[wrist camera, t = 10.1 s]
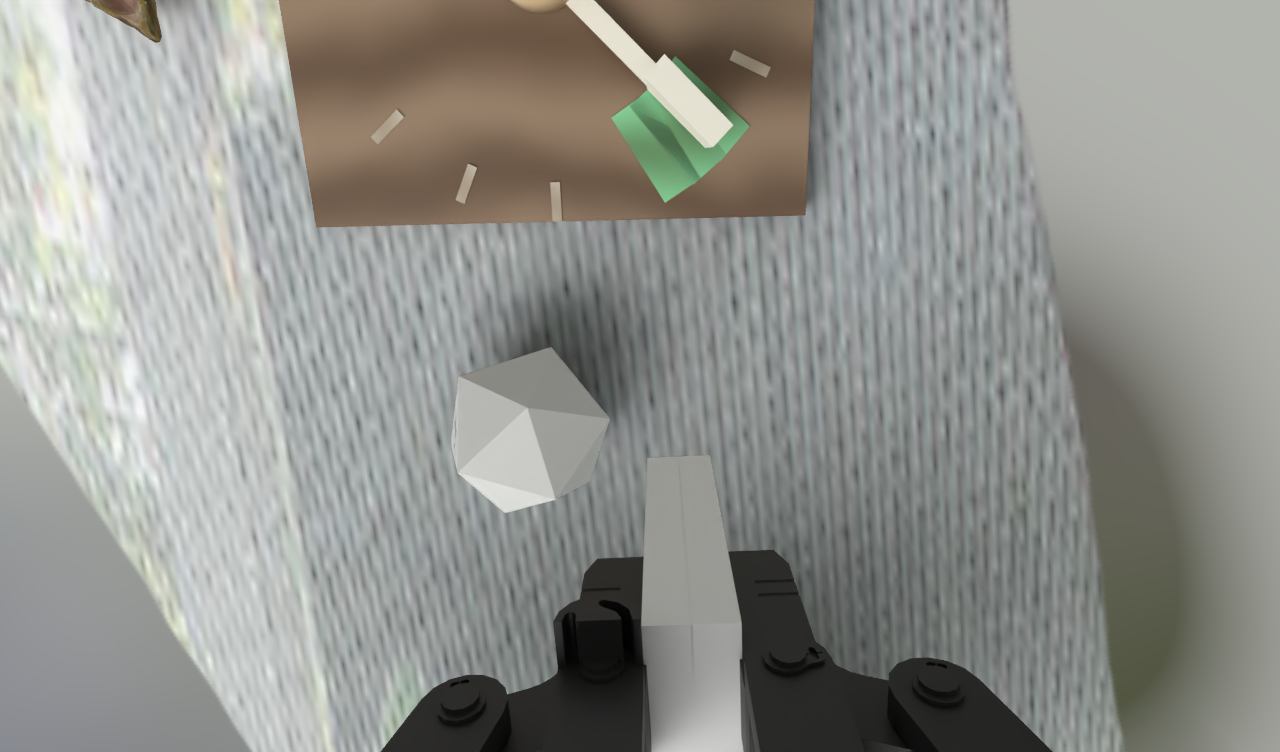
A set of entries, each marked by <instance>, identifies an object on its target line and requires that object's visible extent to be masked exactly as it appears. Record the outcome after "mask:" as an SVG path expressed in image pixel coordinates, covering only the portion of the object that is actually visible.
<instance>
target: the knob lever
mask: <svg viewBox="0 0 1280 752" xmlns="http://www.w3.org/2000/svg"><path fill="white" fill-rule="evenodd" d="M510 1H512V2H513V3H514V4H515V5H516V6H518V7H519V8H521V9H523V10H525V11H527V12H530V13H535V14H550V13H554V12H557V11H559V10H561V9H563V8H565V7H566V6H568V7H569V8H570V9H571V10H572V11H573V12H574V13H575V14H576V15H577V16H578V17H579V18H580V19H581V20H582V21H583V22H584V23H585V24H586V25H587V26H588V27H589V28H590V29H591V30H592V31H593V32H594V33H595V34H596V35H597V36H598V37H599V38H600V39H601V40H602V41H603V42H604V43H605V44H606V45H607V46H608V47H609V48H610V49H611V50H612V51H613V52H614V53H615V54H616V55H617V56H618V57H619V58H620V59H621V60H622V61H623V62H624V63H625V64H626V66H627V67H628V68H629V69H630V70H631V71H632V72H633V73H634V74H635V75H636V76H637V77H638V78H639V79H640V80H641V81H642V82H643V83H644V84H645V85H646V86H647V90H648V91H649V92H650V93H651V94H652V95H653V96H654V97H655V98H656V99H657V100H658V101H659V102H660V103H661V104H662V105H663V106H664V107H665V108H666V109H667V110H668V111H669V112H670V113H671V114H672V115H673V116H674V117H675V118H676V119H677V120H678V121H679V122H680V123H681V124H682V125H683V126H684V127H685V128H686V129H687V130H688V131H689V132H690V133H691V134H692V135H693V136H694V137H695V138H696V139H697V140H698V141H699V142H700V143H701V145H702V146H703V147H704V148H710V147H714V146H715V145H716V143H717V142H718V141H719V140H720V139H721V138H722V137H723V136H724V135H725V134H726V133H727V132H728V130H729V129H730V128H731V127H732V126H733V124H732V123H731V122H730V121H729V120H728V119H727V118H726V117H725V116H724V115H723V114H722V113H721V112H720V111H719V110H718V109H717V108H716V107H715V106H714V105H713V103H712V102H711V101H710V100H709V99H708V98H707V97H706V96H705V95H704V94H703V93H702V92H701V91H700V90H699V89H698V88H697V87H696V86H695V85H694V84H693V83H692V82H691V81H690V80H689V79H688V78H687V77H686V76H685V75H684V74H683V72H682V71H681V70H680V69H679V68H678V67H677V66H676V65H675V64H674V63H673V62H672V61H671V60H670V59H669V58H668V57H667V56H666V55H665V54H664V55H663V56H662V57H661V58H660V59H659V61H658V62H657V63H655V62H654V61H653V60H652V59H651V58H650V57H649V56H648V55H647V54H646V53H645V52H644V51H643V50H642V49H641V48H640V47H639V46H638V45H637V44H636V43H635V42H634V41H633V40H632V39H631V37H630V36H629V35H628V34H627V33H626V32H625V31H624V30H623V29H622V28H621V27H620V26H619V25H618V24H617V23H616V22H615V21H614V20H613V19H612V18H611V17H610V16H609V15H608V14H607V13H606V12H605V11H604V10H603V9H602V8H601V7H600V6H599V5H598V4H597V3H596V2H595V1H594V0H510Z"/></svg>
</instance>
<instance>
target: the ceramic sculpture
mask: <svg viewBox="0 0 1280 752" xmlns="http://www.w3.org/2000/svg"><path fill="white" fill-rule="evenodd" d="M86 1H88V2H90V3H92V4H93V5H94V6H95V7H97V8H99V9H101V10H102V11H104V12H106V13H107V14H109V15H111V16H112V17H115V18H117V19H119V20H120V21H122V22H123V23H125V24H127V25H129V26H131V27H134V28H135V29H136V30H138V31H139V32H140V33H141V34H143V35H144V36H146V37H147V38H149V39H150V40H152V41H154V42H155V43H157V42H160V40H161V37H162V35H161V30H160V25H159V21H158V17H157V10H156V2H155V0H86Z"/></svg>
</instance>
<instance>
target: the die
mask: <svg viewBox="0 0 1280 752" xmlns="http://www.w3.org/2000/svg"><path fill="white" fill-rule="evenodd" d="M609 421H610V418H609V417H608V416H607V415H606V413H605V412H604V411H603V410H602V408H601V407H600V406H599V405H598V404H597V402H596V401H595V400H594V399H593V397H592V396H591V395H590V394H589V393H588V391H587V390H586V389H585V388H584V386H583V385H582V384H581V383H580V382H579V380H578V379H577V378H576V377H575V375H574V374H573V373H572V372H571V371H570V369H569V368H568V367H567V366H566V364H565V363H564V362H563V361H562V360H561V358H560V357H559V356H558V355H557V353H556V352H555V351H554V350H553V349H552V347H549V348H546V349H543V350H540V351H537V352H534V353H531V354H527V355H524V356H521V357H518V358H515V359H512V360H508V361H505V362H502V363H499V364H496V365H493V366H489V367H486V368H483V369H480V370H477V371H474V372H471V373H467V374H464V375H461V376H459V380H458V388H457V396H456V404H455V413H454V421H453V429H452V438H451V445H452V450H453V454H454V459H455V463H456V468H457V472H458V473H459V474H460V475H461V476H462V477H463V478H464V479H466V480H467V481H468V482H469V483H470V484H472V485H473V486H474V487H475V488H476V489H477V490H479V491H480V492H481V493H482V494H483V495H484V496H486V497H487V498H488V499H489V500H490V501H491V502H493V503H494V504H495V505H496V506H497V507H498V508H500V509H501V510H502V511H503V512H504V513H507V512H511V511H515V510H519V509H522V508H526V507H530V506H534V505H537V504H541V503H545V502H549V501H553V500H556V499H558V498H560V497H562V496H564V495H566V494H567V493H569V492H571V491H573V490H575V489H577V488H579V487H581V486H582V485H584V484H586V483H588V482H590V481H591V478H592V475H593V471H594V468H595V465H596V462H597V459H598V456H599V453H600V450H601V446H602V443H603V440H604V437H605V434H606V431H607V428H608V424H609Z"/></svg>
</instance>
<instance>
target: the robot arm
mask: <svg viewBox="0 0 1280 752" xmlns="http://www.w3.org/2000/svg"><path fill="white" fill-rule="evenodd" d="M553 624H554V633H555V643H556V652H557V662H558V672H557V674H556V675H555V676H554V677H552V678H551V679H549V680H547V681H546V682H544V683H542V684H540V685H537V686H535V687H532V688H529V689H526V690H522V691H519V692H515V693H511V694H508V695H507V693H506V689H505V687H504V686H503V685H502V684H501V683H500V682H499V681H498V680H497V679H494V678H491V677H487V676H484V675H465V676H461V677H458V678H454V679H450V680H448V681H446V682H444V683H442V684H440V685H438V686H437V687H435V688H433V689H432V690H431V691H430V692H429V693H428V694H427V695H426V696H425V697H424V698H423V699H421V701H420V702H419V703H418V705H417V706H416V707H415V708H414V710H413V711H412V712H411V714H410V715H409V716H408V717H407V719H406V720H405V721H404V723H403V724H402V725H401V726H400V728H399V729H398V730H397V732H396V733H395V734H394V735H393V737H392V738H391V739H390V741H389V742H388V743H387V744H386V746H385V747H384V748H383V750H382V751H381V752H1052V751H1051V750H1050V749H1049V748H1048V747H1047V746H1046V745H1045V744H1044V743H1043V742H1042V741H1041V740H1040V739H1039V738H1038V737H1037V736H1036V735H1035V734H1034V733H1033V732H1032V731H1031V730H1030V729H1029V728H1028V727H1027V726H1026V725H1025V724H1024V723H1023V722H1022V721H1021V720H1020V719H1019V718H1018V717H1017V716H1016V715H1015V714H1014V713H1013V712H1012V711H1011V710H1010V709H1009V708H1008V707H1007V706H1006V705H1005V704H1004V703H1003V702H1002V701H1001V700H1000V699H999V698H998V697H997V696H996V695H995V694H994V693H993V692H992V691H991V690H990V689H989V688H988V687H986V686H985V685H984V684H983V683H982V682H981V681H980V680H979V679H978V678H977V677H975V676H974V675H973V674H971V673H970V672H969V671H967V670H966V669H965V668H962V667H960V666H957V665H955V664H953V663H950V662H948V661H944V660H939V659H933V658H912V659H908V660H906V661H903V662H901V663H898V664H897V665H896V666H895V667H894V668H893V669H892V671H891V672H890V673H889V681H888V680H883V679H878V678H873V677H867V676H863V675H859V674H856V673H852V672H849V671H847V670H845V669H843V668H840V667H838V666H837V665H835V664H834V663H833V661H832V658H831V657H830V655H829V654H828V652H827V651H826V649H825V648H824V647H822V646H821V645H819V644H818V643H816V642H815V639H814V637H813V634H812V631H811V628H810V625H809V622H808V619H807V616H806V613H805V610H804V607H803V604H802V601H801V599H800V596H799V594H798V590H797V587H796V584H795V582H794V578H793V575H792V572H791V569H790V566H789V563H787V562H786V561H785V560H784V559H783V558H782V557H781V556H780V555H778V554H777V553H776V552H775V551H774V550H761V551H735V552H728V548H727V543H726V538H725V533H724V527H723V522H722V517H721V512H720V506H719V501H718V496H717V491H716V485H715V480H714V475H713V470H712V464H711V459H710V455H700V456H678V457H655V458H647V478H646V506H645V534H644V557H629V558H603V559H597V560H596V561H595V562H594V563H593V564H592V565H591V567H590V568H589V569H588V570H587V571H586V572H585V574H584V580H583V585H582V592H581V596H580V600H577V601H575V602H572V603H570V604H568V605H567V606H566V607H565V608H563V609H562V610H561V611H559V613H558V614H557V616H556V618H555V620H554V622H553Z"/></svg>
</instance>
